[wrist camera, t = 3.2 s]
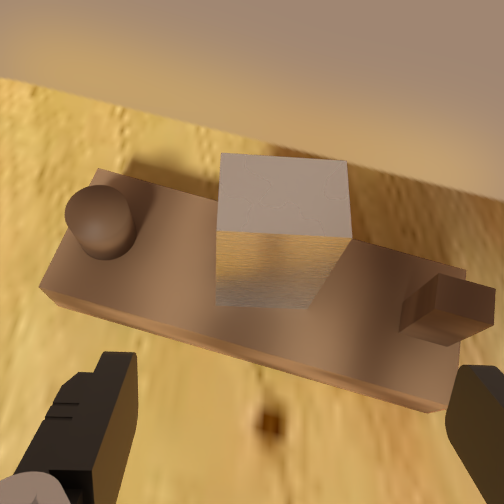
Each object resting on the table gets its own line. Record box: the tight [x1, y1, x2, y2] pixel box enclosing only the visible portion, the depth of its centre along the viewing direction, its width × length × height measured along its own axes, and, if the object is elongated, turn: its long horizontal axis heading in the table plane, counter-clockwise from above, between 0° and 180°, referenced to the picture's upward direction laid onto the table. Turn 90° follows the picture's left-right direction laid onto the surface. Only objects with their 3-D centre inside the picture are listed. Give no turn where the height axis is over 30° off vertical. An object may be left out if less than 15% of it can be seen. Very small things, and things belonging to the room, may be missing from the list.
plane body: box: [39, 168, 496, 413], centre depth 22 cm, size 20×7×7 cm, turn 75°
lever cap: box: [216, 153, 352, 309], centre depth 19 cm, size 4×3×8 cm
